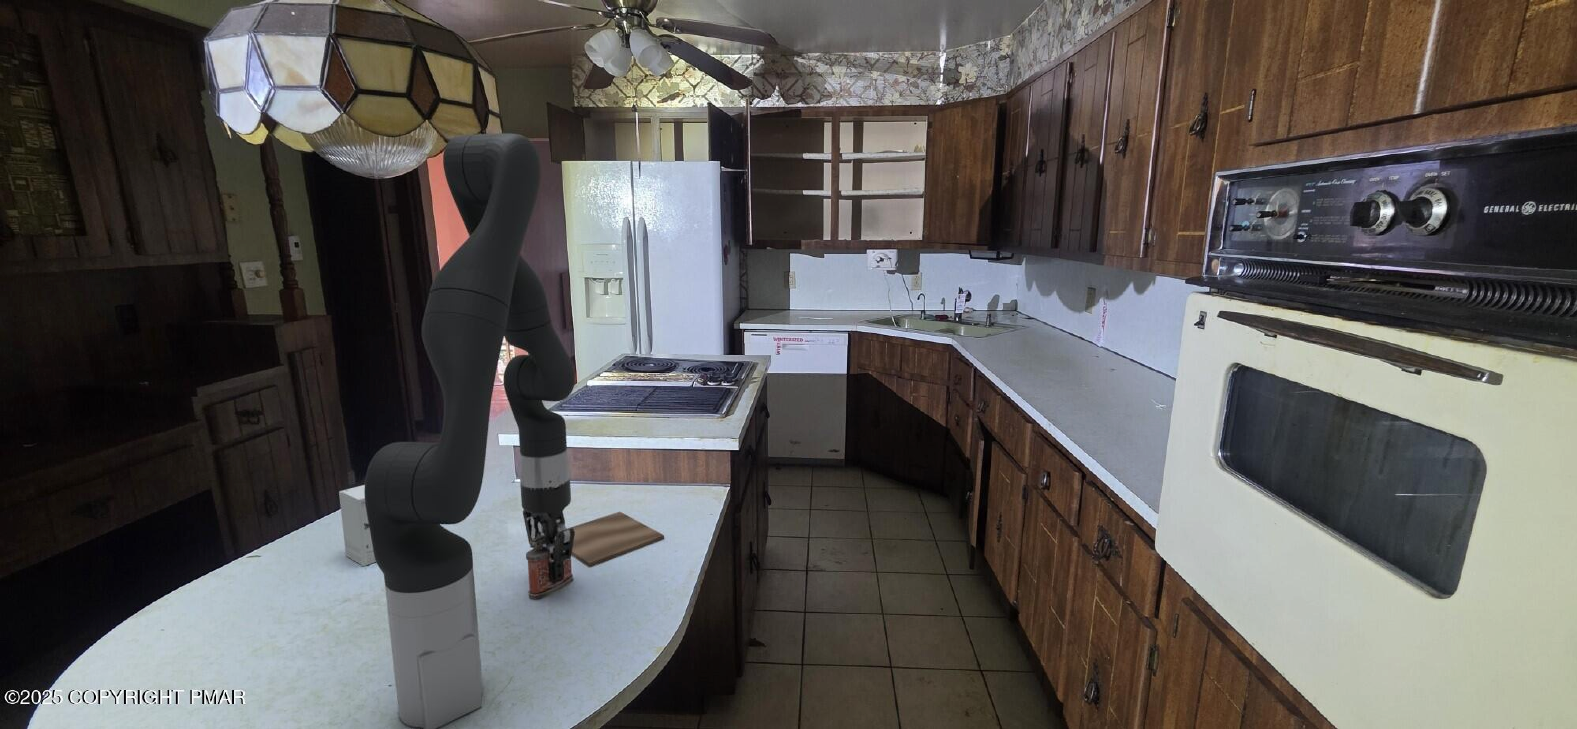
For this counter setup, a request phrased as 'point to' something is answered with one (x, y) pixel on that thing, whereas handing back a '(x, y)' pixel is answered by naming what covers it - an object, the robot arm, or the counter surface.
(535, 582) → the lighter
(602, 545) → the board
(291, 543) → the counter surface
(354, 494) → the supplement box
